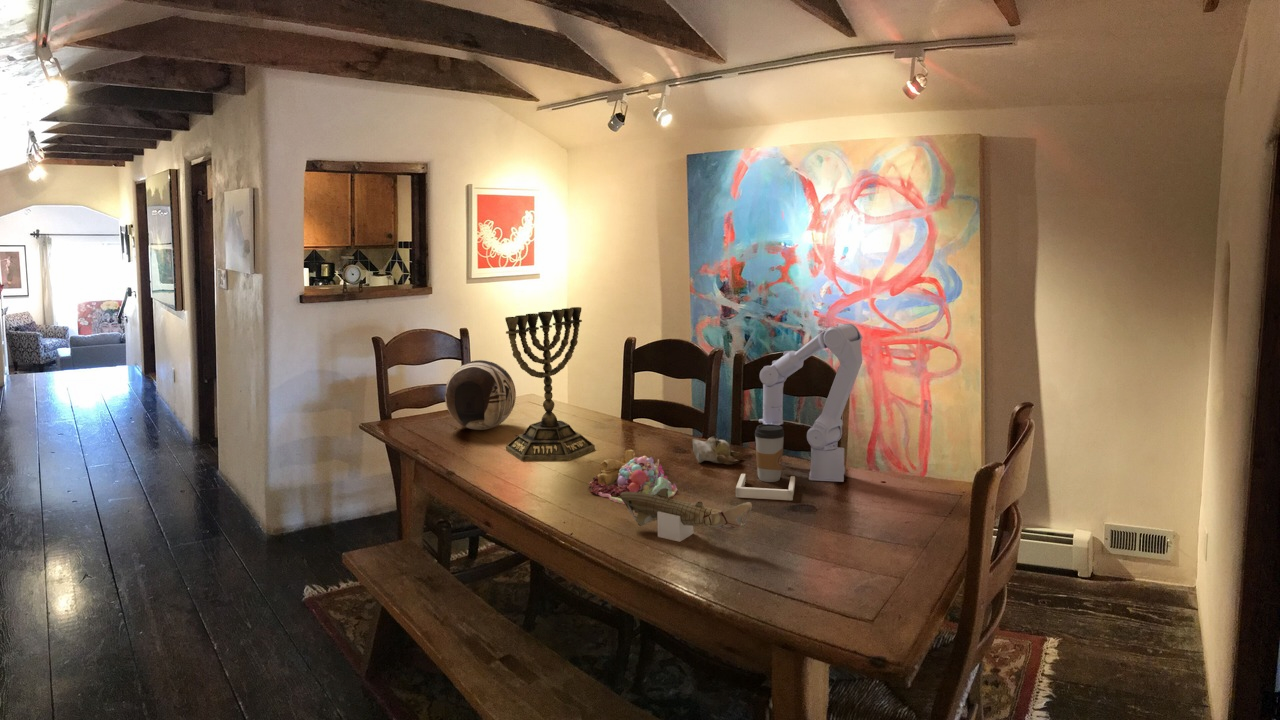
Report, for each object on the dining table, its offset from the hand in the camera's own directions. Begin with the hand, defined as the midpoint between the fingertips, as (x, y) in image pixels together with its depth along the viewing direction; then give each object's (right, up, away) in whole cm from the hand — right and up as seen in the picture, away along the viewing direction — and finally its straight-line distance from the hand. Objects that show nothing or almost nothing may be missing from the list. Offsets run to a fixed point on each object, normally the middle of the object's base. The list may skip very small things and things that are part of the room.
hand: (772, 450), depth 245 cm
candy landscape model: (-41, -9, -17) cm, 45 cm away
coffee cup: (-3, -7, -11) cm, 13 cm away
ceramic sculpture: (-16, -5, +7) cm, 18 cm away
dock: (-5, -9, -21) cm, 23 cm away
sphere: (-96, +2, +54) cm, 110 cm away
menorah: (-68, -3, +24) cm, 72 cm away
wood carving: (-29, -14, -53) cm, 62 cm away
